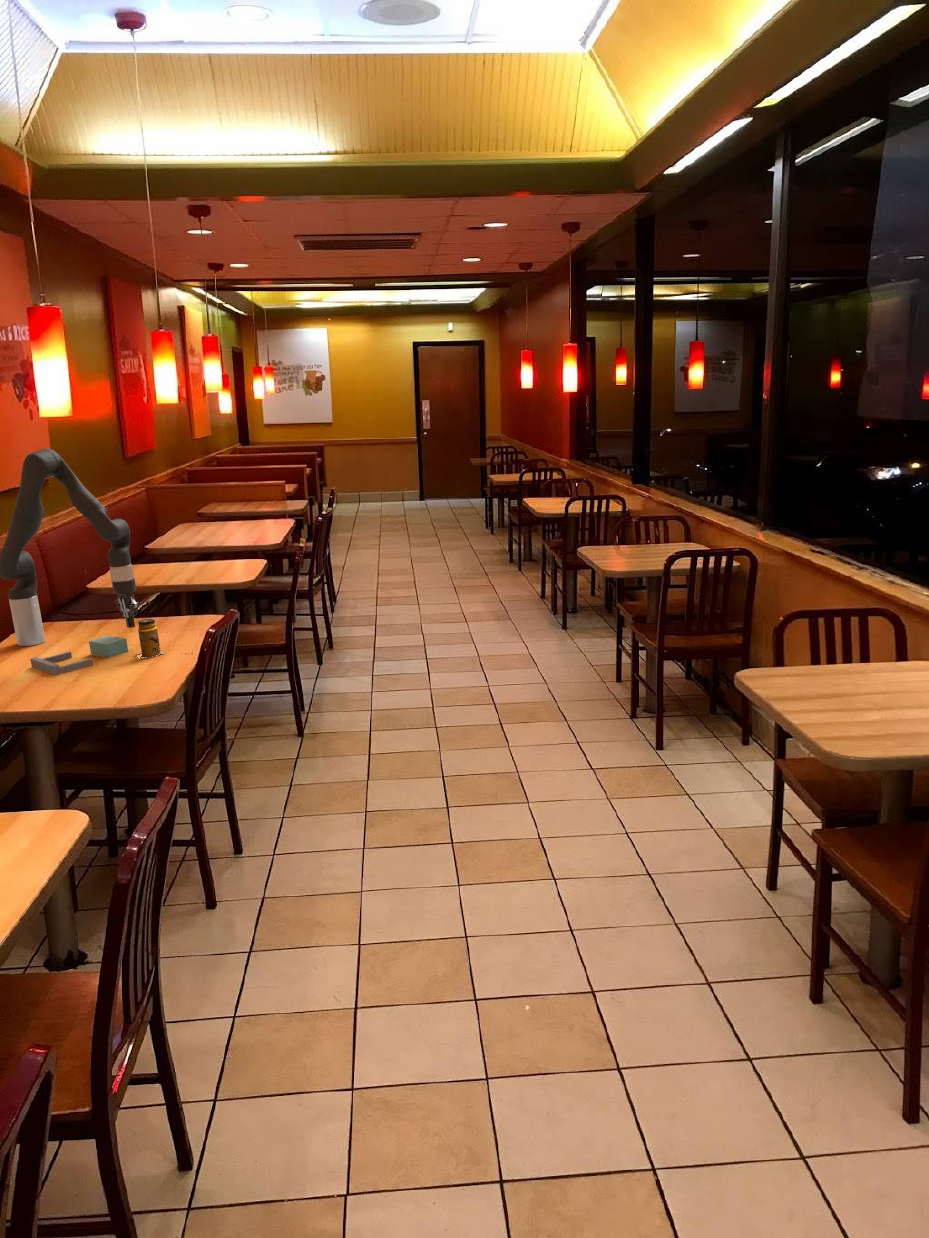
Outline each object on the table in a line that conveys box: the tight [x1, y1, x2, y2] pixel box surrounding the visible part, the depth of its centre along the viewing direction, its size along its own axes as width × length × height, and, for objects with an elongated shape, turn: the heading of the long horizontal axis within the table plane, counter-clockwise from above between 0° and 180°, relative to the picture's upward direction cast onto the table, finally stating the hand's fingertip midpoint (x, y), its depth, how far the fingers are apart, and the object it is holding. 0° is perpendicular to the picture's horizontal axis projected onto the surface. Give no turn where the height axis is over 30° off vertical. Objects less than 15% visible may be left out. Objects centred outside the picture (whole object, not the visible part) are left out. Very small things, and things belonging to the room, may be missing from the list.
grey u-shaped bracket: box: [29, 651, 94, 676], centre depth 302 cm, size 16×13×3 cm
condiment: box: [133, 618, 164, 661], centre depth 308 cm, size 7×8×12 cm
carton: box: [88, 635, 129, 659], centre depth 314 cm, size 10×8×5 cm
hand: (131, 627), depth 319 cm, fingers closed
